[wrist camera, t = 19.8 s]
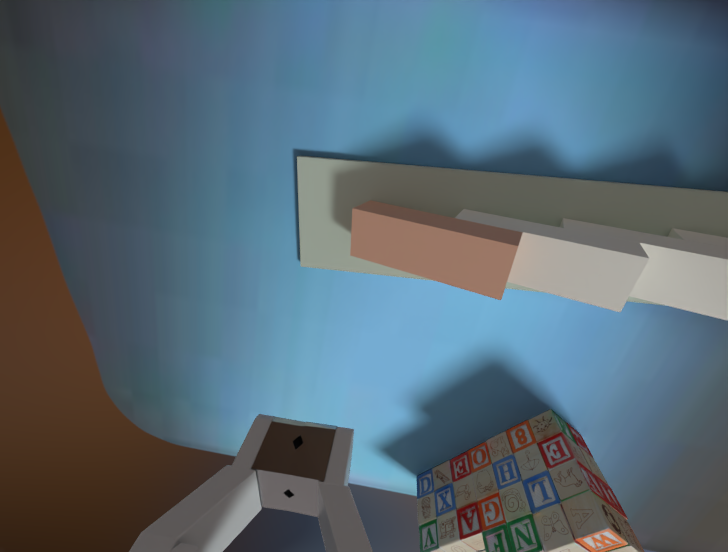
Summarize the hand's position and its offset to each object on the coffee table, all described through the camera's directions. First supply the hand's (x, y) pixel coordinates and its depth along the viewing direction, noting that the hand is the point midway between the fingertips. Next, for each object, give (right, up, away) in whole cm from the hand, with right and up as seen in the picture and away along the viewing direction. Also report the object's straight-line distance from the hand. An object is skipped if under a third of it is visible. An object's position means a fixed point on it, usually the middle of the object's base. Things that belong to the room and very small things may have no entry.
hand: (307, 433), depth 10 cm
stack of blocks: (+18, -19, +32) cm, 42 cm away
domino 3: (+17, +7, +16) cm, 24 cm away
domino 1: (+1, +9, +17) cm, 19 cm away
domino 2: (+9, +8, +16) cm, 20 cm away
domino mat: (+16, +8, +18) cm, 25 cm away
